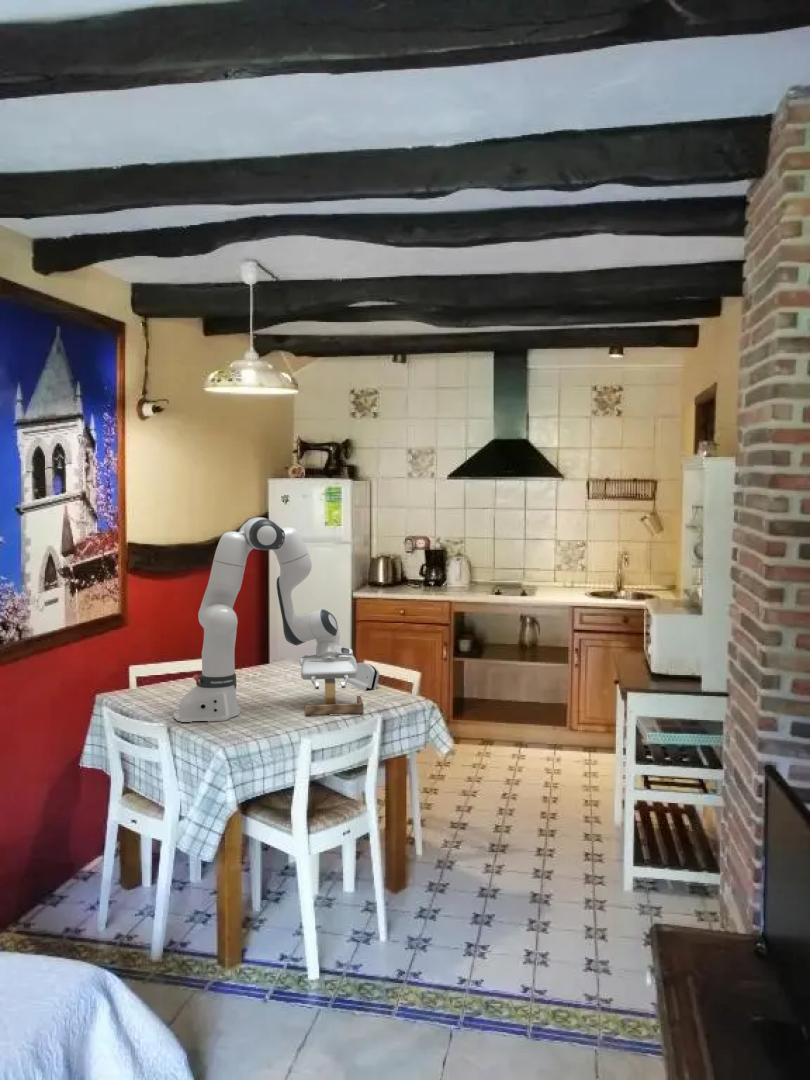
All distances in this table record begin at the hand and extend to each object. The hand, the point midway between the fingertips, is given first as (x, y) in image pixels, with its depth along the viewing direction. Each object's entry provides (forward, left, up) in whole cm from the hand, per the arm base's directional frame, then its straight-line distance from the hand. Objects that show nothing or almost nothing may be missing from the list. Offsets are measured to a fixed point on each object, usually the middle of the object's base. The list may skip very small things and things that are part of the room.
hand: (330, 687), depth 307 cm
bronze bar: (0, +1, -7) cm, 7 cm away
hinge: (+23, +30, -8) cm, 39 cm away
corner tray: (+1, -1, -8) cm, 8 cm away
